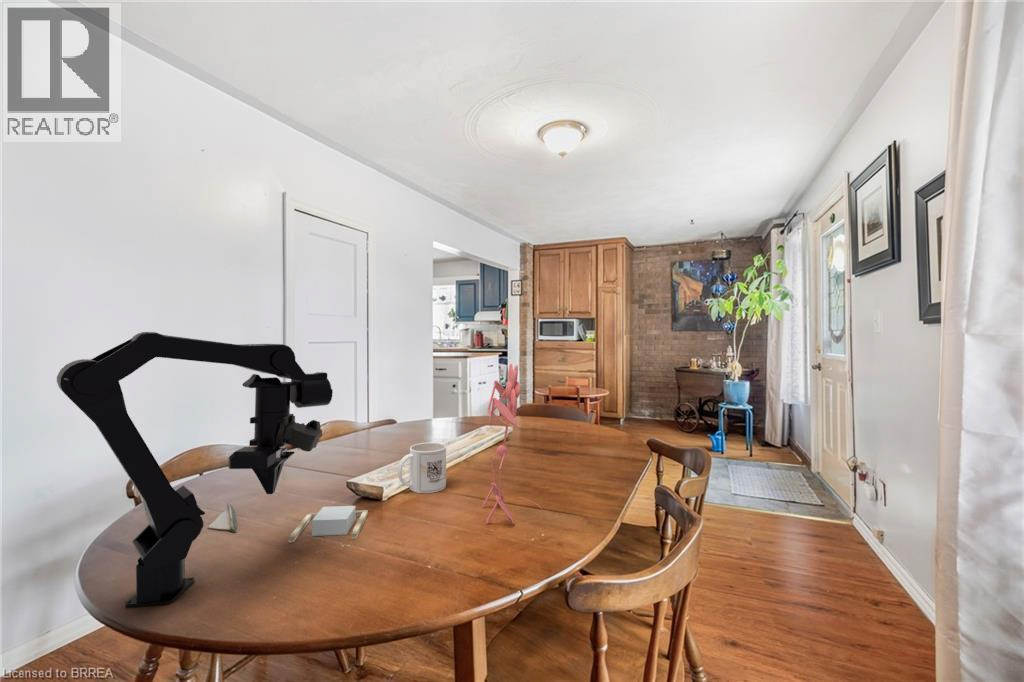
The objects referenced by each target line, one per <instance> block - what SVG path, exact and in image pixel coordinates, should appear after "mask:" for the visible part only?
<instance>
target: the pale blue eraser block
mask: <svg viewBox="0 0 1024 682" xmlns="http://www.w3.org/2000/svg"><path fill="white" fill-rule="evenodd" d="M356 508H357V506H356V505H342V506H339V505H337V506H322V508H321V509H319V512H318V514H317V515H316V516H315V517H314V518H313V519H311V536H312V537H313V536H314V537H315V536H317V537H319V536H338V535H339V536H341V535H346V536H347V535H348V533H349V532H350V530H351V529H352V527H353V525H354V524H355V522H356V520H357V519H356V511H357V510H356Z"/></svg>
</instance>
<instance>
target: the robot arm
mask: <svg viewBox="0 0 1024 682" xmlns="http://www.w3.org/2000/svg"><path fill="white" fill-rule="evenodd" d="M155 358H162V359H173V360H181V361H182V360H185V361H193V362H194V361H195V362H202V363H203V362H204V363H211V364H212V363H214V364H215V363H216V364H221V365H222V364H224V365H232V366H236V367H240V368H243V369H246V370H252V371H255V372H257V373H262V374H269V375H275V376H277V377H274V376H273V377H261V376H260V375H259V374H257V373H253V374H252V375H251V376H250V377H249V378H248V379H247V380H245V381H244V382H243V383H242V386H243V387H244V388H249V389H255V399H254V401H255V403H254V416H253V417H252V416H251V417H250V418H249V424H254V437H253V438H252V439H250V440H249V442H248V443H249V445H248V446H244V447H243V446H242V448H239V449H237V450H235V451H234V452H233V453H231V455H229V456H228V469H229V470H252V471H253V473H254V474H255V475H256V477H257V479H258V481H259V483H260V484H261V486H262V488H263V490H264V491H265V494H266V495H273V494H274V493H275V492H276V488H277V485H278V483H279V479H280V476H281V472H282V469H283V467H284V464H285V463H286V461H287V460H289V459H290V458H291V457H292V456H293V455H294V454H295V453H296V452H295V451H288V448H287V447H286V446H288V445H289V446H292V447H295V448H298V449H300V450H301V451H304V452H311V451H312V450H313V449H314V448H317V446H318V443H319V440H320V439H321V438H322V437H323V429H321V422H320V421H318V420H315V419H312V420H310V421H308V423H304V422H302V423H300V422H296V416H295V415H294V413H290V412H291V407H290V405H291V404H294V406H295V407H296V408H299V409H302V408H303V409H304V408H310V407H312V408H314V407H321V406H323V407H324V406H327V405H330V403H331V402H332V398H333V390H334V389H332V384H331V382H330V380H329V378H328V373H327V372H322V371H321V372H318V371H317V372H314V373H305V371H304V370H303V369H302V368H301V366H300V365H299V364H298V361H296V355H295V352H294V351H293V349H292V347H290V346H289V345H286V344H281V343H248V344H246V343H245V344H244V343H243V344H234V343H228V342H220V341H219V342H218V341H213V340H203V339H196V338H189V337H181V336H173V335H167V334H161V333H158V332H154V331H142V332H139V333H137V334H135V335H134V336H132V337H131V338H129V339H128V340H127V341H124V342H122V343H120V344H118V345H116V346H114V347H112V348H110V349H108V350H106V351H105V352H104V351H103V353H99V354H98V355H96V356H94V357H93V358H90V359H87V358H86V359H84V358H82V359H76V360H73V361H71V362H68V363H67V364H65V365H64V366H63V367H62V368H60V370H59V371H58V373H57V376H56V382H57V383H56V384H57V385H58V388H59V389H60V391H62V393H63V394H64V395H65V396H66V397H67V398H69V400H70V401H71V402H72V403H73V404H74V405H75V406H76V407H77V408H78V409H79V410H80V411H82V413H84V415H86V417H88V418H89V420H91V421H92V423H94V425H95V426H96V427H97V429H98V431H99V432H100V434H101V436H102V437H103V439H104V440H105V442H106V443H107V446H108V447H109V448H110V450H111V451H112V453H113V454H114V456H115V458H116V459H117V460H118V461H117V462H119V464H120V465H121V467H122V469H123V470H124V472H125V473H126V475H127V476H128V478H129V479H130V481H131V483H132V484H133V486H134V488H135V489H136V490H137V492H138V493H139V495H140V497H141V500H142V504H143V507H144V511H145V515H146V518H147V521H148V524H147V526H146V527H145V528H144V529H143V530H142V531H141V532H140V533H139V534H138V535H136V537H135V538H134V539H133V540H132V541H131V542H132V545H133V547H134V548H135V550H136V552H137V553H138V555H139V558H138V559H137V564H136V566H135V576H136V577H135V580H136V581H135V584H136V585H135V586H136V587H135V590H136V591H135V592H136V593H135V594H134V595H133V596H132V597H131V598H130V599H128V600H127V601H125V603H124V607H125V608H128V607H145V606H155V605H156V606H158V605H169V604H171V603H173V602H174V601H175V600H176V599H177V598H178V597H180V596H181V594H183V593H184V592H185V591H186V590H187V589H188V588H189V587H190V586H191V585H192V584H193V583H194V582H195V577H185V576H186V575H185V574H186V567H185V566H186V565H185V563H186V558H187V556H188V553H189V552H190V549H191V547H192V543H193V542H194V541H195V540H196V539H197V538H198V537H199V535H200V534H201V532H202V530H203V528H204V520H203V517H202V516H204V515H205V514H206V512H205V511H204V510H203V509H202V508H200V506H198V502H197V500H196V497H195V494H194V492H192V491H191V490H189V489H188V488H187V487H186V486H185V485H182V486H180V487H179V488H177V489H176V490H175V488H174V487H173V486H172V485H171V483H170V481H169V480H168V478H167V476H166V475H165V473H164V471H163V470H162V468H161V466H160V464H159V463H158V461H157V460H156V458H155V457H154V455H153V453H152V452H151V450H150V448H149V447H148V445H147V444H146V442H145V440H144V439H143V437H142V435H141V434H140V432H139V431H138V428H137V426H135V424H134V422H133V420H132V418H131V417H130V415H129V414H128V411H127V405H126V401H125V398H124V393H123V391H122V387H121V384H120V381H121V380H123V379H124V378H126V377H128V376H130V375H131V374H133V373H134V372H135V371H137V370H138V369H140V368H141V367H143V366H144V365H146V364H147V363H149V362H150V361H152V360H153V359H155ZM278 377H279V378H278ZM280 378H281V379H287V380H289V379H290V380H291V381H281V380H280Z"/></svg>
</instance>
